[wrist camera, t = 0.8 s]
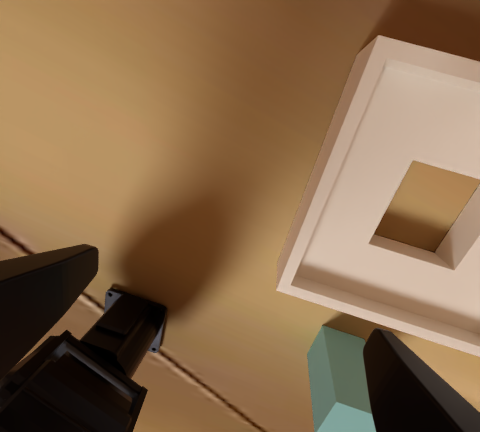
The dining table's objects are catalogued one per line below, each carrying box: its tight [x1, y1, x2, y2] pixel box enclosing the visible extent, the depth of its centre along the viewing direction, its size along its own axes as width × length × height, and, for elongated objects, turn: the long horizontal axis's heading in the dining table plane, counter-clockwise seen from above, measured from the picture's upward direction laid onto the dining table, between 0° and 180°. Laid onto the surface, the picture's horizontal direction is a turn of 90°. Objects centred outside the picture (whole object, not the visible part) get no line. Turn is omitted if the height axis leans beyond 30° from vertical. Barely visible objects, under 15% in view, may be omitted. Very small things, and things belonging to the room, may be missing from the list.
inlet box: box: [276, 35, 480, 357], centre depth 17 cm, size 16×16×4 cm
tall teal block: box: [307, 325, 376, 432], centre depth 21 cm, size 4×4×7 cm
